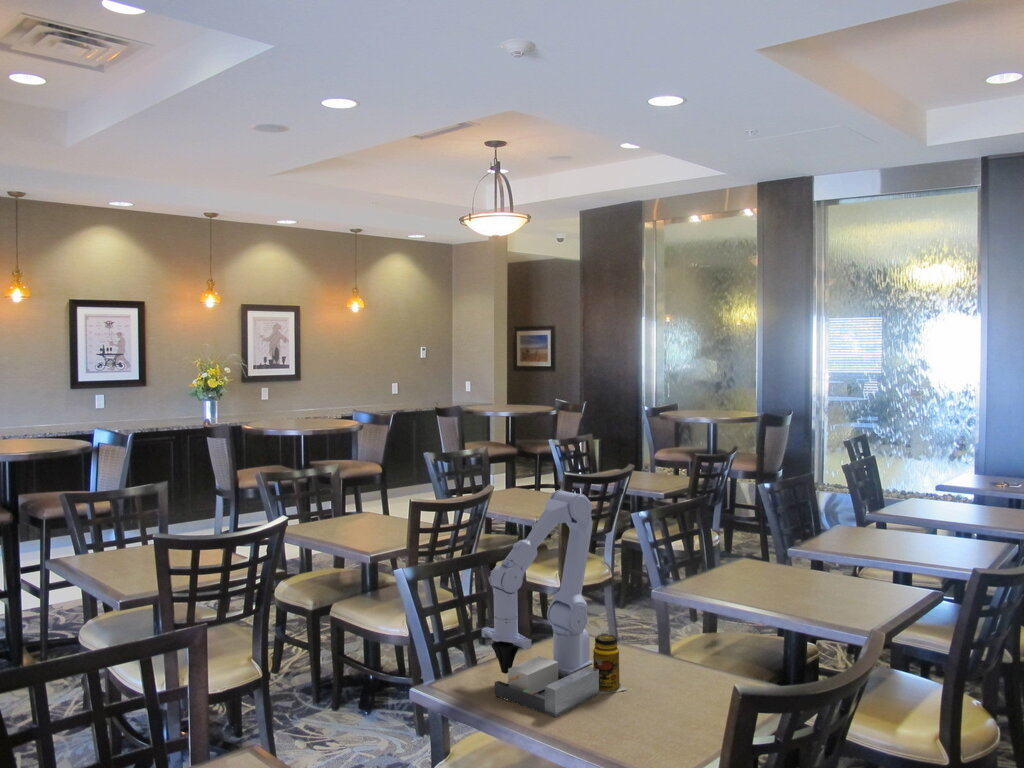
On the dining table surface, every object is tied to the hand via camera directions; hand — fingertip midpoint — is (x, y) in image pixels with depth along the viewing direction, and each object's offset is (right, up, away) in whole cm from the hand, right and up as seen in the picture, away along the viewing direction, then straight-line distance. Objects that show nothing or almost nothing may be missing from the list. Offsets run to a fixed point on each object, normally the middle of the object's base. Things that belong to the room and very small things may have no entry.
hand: (506, 672), depth 201 cm
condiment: (+24, -3, -3) cm, 24 cm away
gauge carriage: (+6, -1, -7) cm, 9 cm away
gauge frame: (+9, -3, -8) cm, 13 cm away
